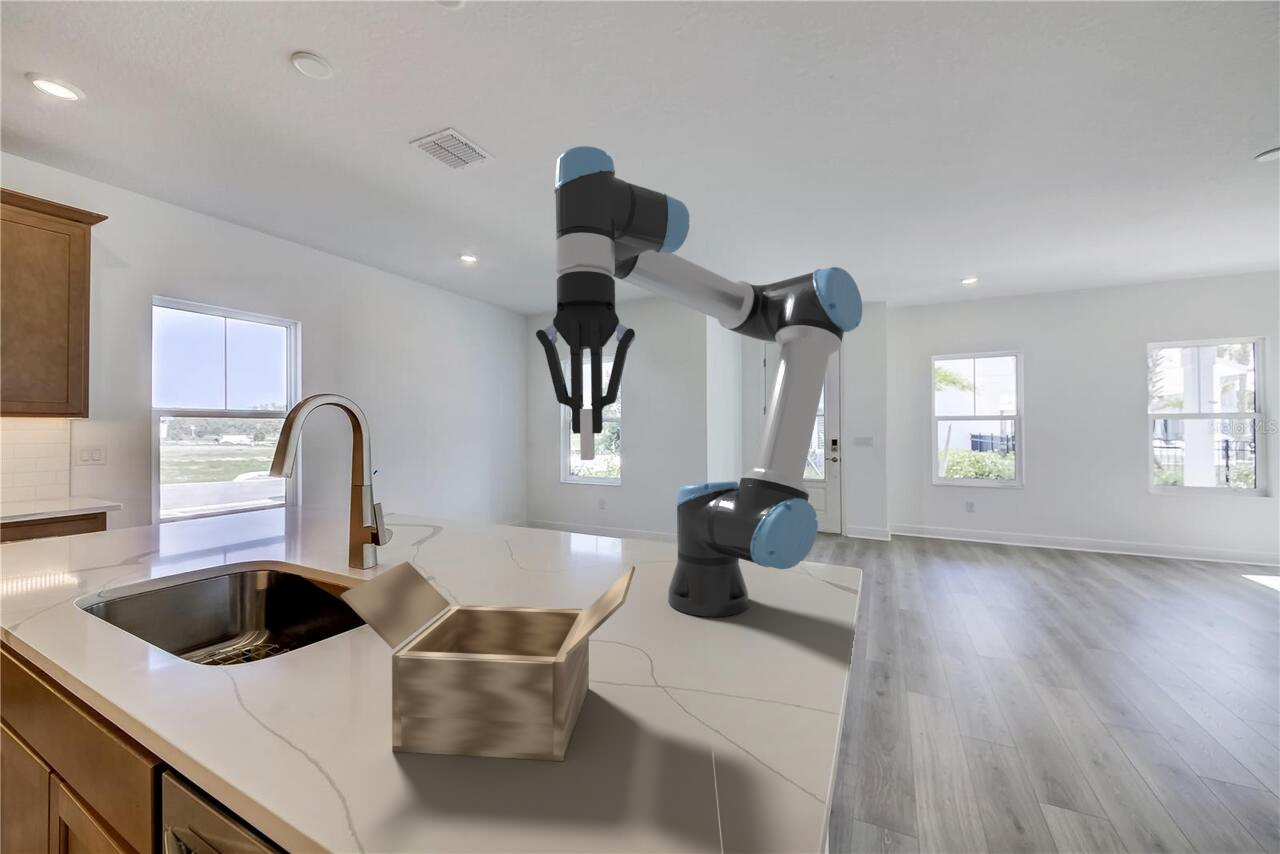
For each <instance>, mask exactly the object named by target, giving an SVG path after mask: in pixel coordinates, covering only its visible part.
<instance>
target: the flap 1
mask: <svg viewBox="0 0 1280 854" xmlns="http://www.w3.org/2000/svg"><path fill="white" fill-rule="evenodd" d="M340 597H341V599H342V600H343V601H345V602H346V604H348V605H349V607H350V608H351V609H352V610H353V611H355V613H356V614H357V615H358V616H359V617H360V618H361V619H362V620H363V621H364V622H365V623H366V624H367V625H369V627H370V628H371V629H372V630H373V631H374V632H375V633H376V635H378V636H379V637H380V638H381V639H382V640H383V641H384V642H385V644H387V645H388V646H389V647H390V648H391V650H394V649H396V648H397V647H399V646H400V645H401V644H402V643H403V642H405V641H406V640H407V639H408V638H410V636H412V635H414V633H417V631H419V629H421V628H422V627H423V626H425V625H427V623H429V622H430V621H432V620H433V619H434V618H435V617H436V616H438V615H439V614H440V613H441V612H442V611H444V610H446V608H448V607H450V606H451V603H450V602H449V601H448V600H447V598H446V597H444V596H443V595H442V593H440V591H438V590H437V589H436V588H435V587H434V586H433V585H432V584H431V582H430V581H428V580H427V579H426V578H425V576H423V575H422V574H421V573H420V572H419V571H418V570H417V568H416V567H414V566H413V565H412V564H411V563H410V562H409V561H408V560H406V561H404V562H402V563H400V564H397V565H396V566H394V567H392V568H390V569H388V570H386V571H384V572H383V573H381V574H378V575H376V576H374V577H372V578H370V579H368V580H366V581H364V582H363V583H360V584H358V585H356V586H354V587H352V588H349V589H348V590H346V591H345V592H342V593H341V594H340Z"/></svg>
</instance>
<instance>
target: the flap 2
mask: <svg viewBox="0 0 1280 854" xmlns="http://www.w3.org/2000/svg"><path fill="white" fill-rule="evenodd" d="M635 570H636V567H635V565H632V566H631V567H630V568H629V569H628V570H627V571H625V573H624V574H623V575H622V576H620V577H619V578H618V579H617V580H616V581H615V582H614V583H613V584H612V585H611V586H610V587H609V588H608V589H607V590H606V591H605V592H604V593H603V594H601V595H600V597H598V598H597V599H596V600H595V601H594V602H593V603H592V604H591V605H590V606H589V607H588V608H587V609H586V610H587V612H586V614H585V616H584V618H583V620H582V622H581V624H580V626H579V628H578V630H577V632H576V634H575V636H574V638H573V640H572V642H571V644H570V646H569V648H568V650H567V652H566V654H567V656H569V655H570V654H571V653H572V652H573V651H574V650H575V649H577V648H578V647H579V646H580V645H581V644H582V643H583V642H584V641H585V640H586V639H587V638H588V637H589V638H590V637H591V636H592V634H593V633H595V632H596V631H597V630H598V629H599V628H600V627H601V626H602V625H603V624H604V623H605V622H606V621H607V620H609V619H610V618H611V617H612V616H613V615H614V614H615V613H617V611H618V610H619V609H620V608H622V606H623V605H625V603H626V599H627V597H628V593H629V589H630V586H631V583H632V581H633V577H634V573H635V572H636V571H635Z"/></svg>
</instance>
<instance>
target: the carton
mask: <svg viewBox="0 0 1280 854" xmlns="http://www.w3.org/2000/svg"><path fill="white" fill-rule="evenodd" d="M587 610H588V609H585V610H583V609H582V608H572V607H571V608H570V607H568V608H566V607H541V606H540V607H538V606H507V605H477V604H476V605H475V604H473V605H472V604H462V605H461V606H459V605H458V606H457V605H456V606H455V605H454V606H452V607H450V608H449V609H448V610H447V611H446V612H444V613H443V614H441V616H439V617H438V618H436V620H435V621H433V622H432V623H430V624H429V625H428V626H426V627H425V628H424V629H423V630H422V631H420V632H419V633H418V634H417V635H416V636H413V638H412V639H410V640H409V641H408V642H406V643H405V644H404V645H403V646H402V647H401V648H399V649H398V650H397V651H395V652H394V653H393V654H391V715H392V717H391V722H392V723H391V731H392V732H391V734H392V735H391V744H392V745H391V746H392V748H391V749H392V752H394V753H395V752H398V753H413V754H414V753H415V754H429V755H430V754H431V755H445V756H447V755H448V756H449V755H450V756H463V757H464V756H465V757H466V756H468V757H484V758H485V757H487V758H501V759H503V758H504V759H517V760H518V759H519V760H522V759H523V760H537V761H538V760H539V761H553V762H554V761H555V762H557V761H558V762H564V761H565V757H566V754H567V752H568V749H569V747H570V744H571V739H573V738H572V737H573V734H574V732H575V728H576V727H577V723H578V720H579V717H580V714H581V712H582V708H583V705H584V703H585V699H586V697H587V694H588V692H589V690H590V689H589V687H590V684H589V683H590V681H589V680H590V677H589V676H590V675H589V674H590V672H589V671H590V665H589V664H590V660H589V659H590V658H589V657H590V656H589V655H590V654H589V653H590V652H589V651H590V650H589V649H590V644H589V643H590V639H589V638H590V636H589V637H588V638H587V639H586V640H585V641H584V642H583V643H582V644H581V645H580V646H579V647H578V648H577V649H575V650H574V651H573V652H572V653H571V654H570V655H569V656H567V654H566V652H567V650H568V648H569V646H570V644H571V642H572V640H573V638H574V636H575V634H576V632H577V630H578V628H579V626H580V624H581V622H582V620H583V618H584V616H585V614H586V612H587Z"/></svg>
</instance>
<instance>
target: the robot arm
mask: <svg viewBox="0 0 1280 854" xmlns="http://www.w3.org/2000/svg"><path fill="white" fill-rule="evenodd" d="M614 163H615V162H614V160H613V158H612V157H611V156H610V155H608V154H607V152H606V151H605V150H604V149H601V148H598V147H596V146H595V147H594V146H588V145H587V146H586V145H580V146H575V147H571V148H569V149H566V150H565V151H564V152H563V153H562V154H560V156H559V157H558V159H557V161H556V167H555V169H556V170H555V179H554V180H555V182H554V183H555V184H554V190H553V191H554V192H553V193H554V195H555V222H556V223H555V225H556V228H555V229H556V231H555V232H556V233H555V236H556V238H555V240H556V242H555V249H556V250H555V251H556V252H555V254H556V257H555V259H556V261H555V262H556V263H555V266H556V267H555V268H556V269H555V271H556V273H557V274H558V277H557V278H556V312H555V314H554V316H553V319H552V323H551V324H550V325H548V326H547V327H546V328H545V329H538V330H537V331H536V332H535V337H536V338H537V340H538V341H539V342H540V344H541V345H542V347H543V348H544V353H545V357H546V360H547V361H546V362H547V365H548V368H549V372H550V377H551V381H552V384H553V389H554V394H555V397H556V400H557V402H558V403H559V404H561V405H564V406H566V407H569V409H570V410H571V430H572V434H577V435H578V434H580V437H579V439H580V441H579V442H580V447H579V448H580V461H593V460H595V459H596V458H595V457H596V456H595V453H596V449H595V444H596V443H595V439H596V438H595V434H602V432H603V426H604V424H603V423H604V422H603V421H604V420H603V416H604V415H603V410H604V408H605V407H607V406H609V405H612V404H615V403H616V401H617V398H618V392H619V389H620V386H621V381H622V376H623V372H624V368H625V364H626V358H627V355H628V350H629V348H630V347H631V345H632V344H633V342H634V341H635V338H636V333H635V332H636V331H635V330H634V328H628V327H627V326H625V325H623V324H622V323H621V322H620V318H619V316H618V314H617V313H616V280H615V279H614V278H616V279H618V280H621V281H624V282H626V283H628V284H631V285H633V286H636V287H637V288H638V287H639V288H641V289H643V290H645V291H648V292H650V293H652V294H655V295H657V296H660V297H663V298H665V299H667V300H670V301H672V302H675V303H678V304H680V305H682V306H684V307H687V308H690V309H692V310H694V311H697V312H699V313H702V314H704V315H707V316H709V317H710V318H713V319H716V320H717V322H718V323H719V325H720V326H721V327H722V328H724V329H727V330H729V331H732V332H734V333H737V334H740V335H743V336H745V337H749V338H752V339H756V340H761V341H766V342H771V343H773V342H774V343H777V344H778V345H779V346H780V351H779V356H778V360H777V363H776V368H775V371H774V376H773V381H772V385H771V390H770V392H769V393H770V394H769V398H768V402H767V405H766V410H765V413H764V417H763V418H764V419H763V423H762V427H761V431H760V435H759V440H758V445H757V448H756V452H755V456H754V460H753V464H752V469H751V470H750V471H749V472H747V473H746V474H744V475H742V476H741V477H740V480H739V482H738V481H736V480H735V481H734V480H731V481H729V480H728V481H714V482H713V481H711V482H701V483H699V482H698V483H689V484H683V485H682V486H680V487H679V489H678V494H677V503H676V517H677V518H676V524H677V525H676V527H677V535H676V538H677V540H676V541H677V561H676V565H675V568H674V571H673V575H672V578H671V581H670V584H669V587H668V598H667V599H668V603H669V605H670V607H672V608H673V609H674V610H676V611H679V612H681V613H685V614H689V615H692V616H699V617H710V618H711V617H712V618H714V617H728V616H733V615H736V614H740V613H742V612H744V611H746V610H747V609H748V607H749V592H748V589H747V585H746V582H745V579H744V575H743V573H742V569H741V566H740V563H739V561H740V560H743V561H747V562H749V563H753V564H756V565H758V566H761V567H764V568H772V569H778V570H789V569H791V568H794V567H795V566H798V565H799V564H800V563H801V562H802V561H804V560H805V559H806V558H807V556H808V555H809V554H810V552H811V551H812V549H813V546H814V544H815V541H816V539H817V535H818V527H819V522H818V520H817V519H816V518H817V517H818V516H817V511H816V510H815V507H814V506H813V505H812V504H811V503H809V497H810V492H809V491H808V490H807V488H806V486H805V484H804V483H803V480H804V475H805V471H806V465H807V461H808V457H809V453H810V448H811V443H812V438H813V433H814V430H815V423H816V419H817V415H818V410H819V407H820V406H819V405H820V401H821V398H822V397H821V396H822V391H823V387H824V383H825V379H826V378H825V377H826V373H827V370H828V364H829V359H830V356H831V355H833V354H834V353H836V352H838V351H839V350H840V349H841V346H842V341H843V337H844V333H850V332H851V331H853V330H855V329H856V328H857V327H859V326H860V323H861V321H862V318H863V300H862V296H861V292H860V289H859V287H858V284H857V283H856V281H855V279H854V278H853V276H852V275H851V274H850V273H849V272H848V271H847V270H845V269H844V268H841V267H838V266H831V267H827V268H823V269H822V268H821V269H820V268H818V269H815V270H814V271H813V272H809V273H806V274H802V275H798V276H795V277H791V278H787V279H783V280H780V281H777V282H772V283H768V284H759V285H755V284H751V283H749V282H747V281H745V280H738V281H732V280H730V279H727V278H726V277H724V276H721V275H719V274H717V273H715V272H713V271H711V270H709V269H707V268H705V267H702V266H701V265H698V264H696V263H694V262H692V261H690V260H688V259H685V258H683V257H681V256H679V255H677V254H675V252H677V251H678V250H679V249H680V248H681V247H682V246H683V244H684V243H685V241H686V239H687V236H688V235H689V230H690V213H689V209H688V208H687V206H686V204H685V203H684V202H682V201H681V200H679V199H678V198H677V199H676V198H675V197H672V196H669V195H668V194H666V193H665V192H664V193H663V192H659V191H657V190H652V189H649V188H646V187H644V186H643V187H642V186H639V185H636V184H634V183H630V182H626V181H625V180H623V179H621V178H617V177H616V170H615V166H614ZM615 332H616V337H615V339H616V341H617V342H618V344H617V346H616V350H615V355H614V357H613V358H614V359H613V364H612V368H611V372H610V376H609V381H608V385H607V390H606V395H603V394H604V393H603V391H604V390H603V348H604V347H605V346H606V345H607V344H608V342H609V340H610V339H611V338H612V336H613V335H614V334H615ZM558 333H559V335H560V336H561V338H562V339H563V341H564V342H565V343H566V344H567V345H568V346H569V354H570V395H569V391H568V388H567V384H566V379H565V376H564V371H563V368H562V363H561V360H560V356H559V352H558V349H557V347H556V344H557V342H558V337H557V336H558V335H557V334H558ZM587 349H589V353H590V380H591V381H590V383H591V384H590V385H591V386H590V387H591V389H590V391H591V392H590V393H591V395H590V397H591V398H590V399H591V403H590V406H591V408H584V407H585V405H584V359H583V358H584V350H587Z"/></svg>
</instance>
